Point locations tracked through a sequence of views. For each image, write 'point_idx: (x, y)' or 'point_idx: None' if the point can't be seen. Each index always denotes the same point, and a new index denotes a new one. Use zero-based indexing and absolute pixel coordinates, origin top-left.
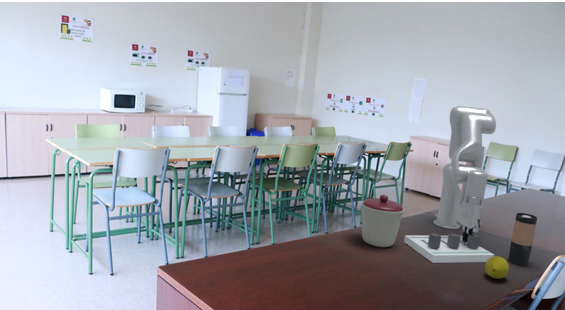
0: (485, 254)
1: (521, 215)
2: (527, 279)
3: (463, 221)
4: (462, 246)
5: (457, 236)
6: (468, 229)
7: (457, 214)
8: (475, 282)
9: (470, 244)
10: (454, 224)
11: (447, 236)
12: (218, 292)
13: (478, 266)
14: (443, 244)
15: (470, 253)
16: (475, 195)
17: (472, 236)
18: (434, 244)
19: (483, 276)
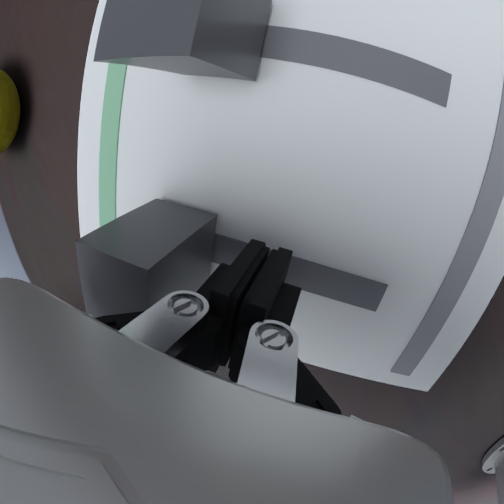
0: (85, 223)
1: None
2: (11, 228)
3: (144, 439)
4: (232, 174)
5: (104, 13)
6: (135, 329)
7: (502, 501)
8: (17, 7)
9: (153, 212)
10: (502, 459)
11: (485, 276)
12: None
13: (76, 111)
14: (325, 6)
15: (99, 115)
16: None
17: (86, 248)
18: None
19: (24, 63)
